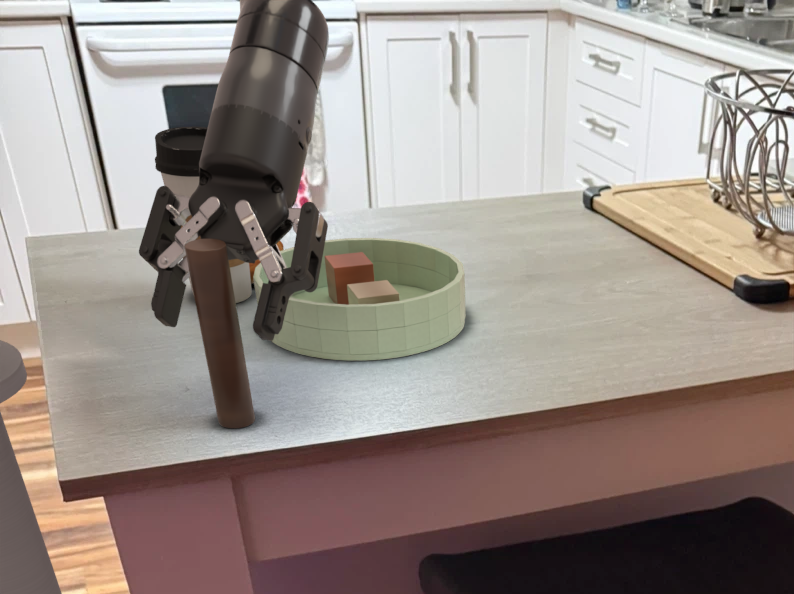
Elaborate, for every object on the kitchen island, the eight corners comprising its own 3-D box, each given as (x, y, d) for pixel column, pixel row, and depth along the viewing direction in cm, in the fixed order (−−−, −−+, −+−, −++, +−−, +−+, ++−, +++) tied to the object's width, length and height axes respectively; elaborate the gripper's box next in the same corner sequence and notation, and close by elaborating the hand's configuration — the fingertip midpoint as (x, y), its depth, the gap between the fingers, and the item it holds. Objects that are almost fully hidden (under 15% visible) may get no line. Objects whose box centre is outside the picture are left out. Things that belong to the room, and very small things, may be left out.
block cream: (361, 340, 99) (357, 298, 97) (350, 326, 102) (346, 284, 99) (402, 335, 100) (399, 293, 98) (390, 321, 103) (387, 279, 101)
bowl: (285, 373, 95) (277, 317, 91) (244, 299, 109) (236, 249, 105) (493, 344, 101) (493, 291, 97) (429, 278, 115) (427, 230, 111)
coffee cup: (235, 276, 114) (210, 121, 104) (279, 296, 109) (257, 136, 100) (166, 293, 109) (132, 133, 99) (208, 315, 105) (178, 150, 95)
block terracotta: (338, 309, 105) (333, 267, 103) (328, 296, 108) (324, 255, 106) (376, 304, 107) (373, 263, 104) (366, 291, 109) (362, 251, 107)
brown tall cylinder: (221, 431, 86) (187, 252, 76) (215, 416, 88) (181, 240, 78) (258, 425, 86) (228, 248, 77) (251, 410, 89) (222, 236, 79)
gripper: (153, 93, 80) (104, 295, 79) (324, 107, 77) (275, 318, 76) (203, 154, 87) (158, 339, 86) (360, 169, 84) (316, 362, 83)
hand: (213, 329), depth 81 cm, fingers open, 8 cm apart
